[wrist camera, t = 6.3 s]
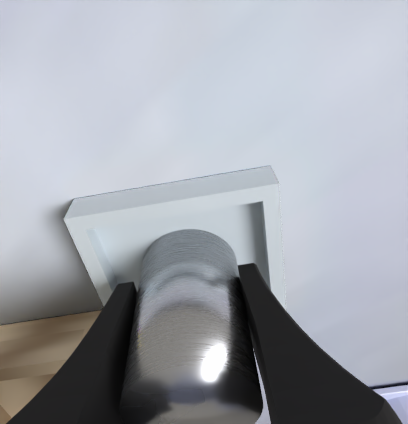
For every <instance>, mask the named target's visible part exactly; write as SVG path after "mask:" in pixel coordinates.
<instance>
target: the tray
mask: <svg viewBox="0 0 408 424" xmlns="http://www.w3.org/2000/svg"><path fill="white" fill-rule="evenodd" d="M64 222H65V224H66V226H67V228H68V230H69V232H70V235H71V237H72V239H73V241H74V243H75V245H76V248H77V250H78V252H79V254H80V256H81V258H82V261H83V263H84V265H85V267H86V269H87V271H88V274H89V276H90V278H91V280H92V282H93V284H94V287H95V289H96V291H97V293H98V295H99V297H100V300H101V302H102V304H103V306H105V304H106V303H107V301H108V299H109V298H110V296H111V294H112V293H113V291H114V289H115V288H116V286H117V285H118V284H120V283H127V282H134V284H135V287H136V290H137V292H138V285H139V279H140V272H141V266H142V260H143V256H144V254H145V252H146V250H147V249H148V247H149V246H150V245H151V244H152V243H153V242H154V241H155V240H157V239H158V238H160V237H161V236H163V235H165V234H167V233H170V232H173V231H177V230H183V229H197V230H203V231H207V232H210V233H213V234H215V235H217V236H219V237H221V238H222V239H224V240H225V241H226V242H227V243H228V244H229V245H230V246H231V248H232V249H233V251H234V253H235V255H236V259H237V264H238V265H243V264H249V263H255V264H256V265H257V267H258V269H259V271H260V273H261V275H262V277H263V279H264V280H265V282H266V284H267V285H268V287H269V288H270V290H271V291H272V293H273V294H274V295H275V297H276V298H277V300H278V301H279V302H280V304H281V305H282V306H283V308H284V309H285V310H286V311H287V309H286V292H285V274H284V257H283V239H282V222H281V204H280V187H279V182H278V180H277V177H276V175H275V173H274V171H273V169H272V167H271V166H266V167H260V168H254V169H248V170H242V171H236V172H230V173H225V174H219V175H213V176H207V177H201V178H195V179H189V180H183V181H177V182H171V183H165V184H159V185H153V186H148V187H142V188H136V189H130V190H124V191H118V192H112V193H106V194H100V195H94V196H88V197H82V198H76V199H74V200H73V202H72V204H71V206H70V207H69V209H68V211H67V213H66V215H65V217H64Z"/></svg>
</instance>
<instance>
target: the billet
mask: <svg viewBox="0 0 408 424" xmlns="http://www.w3.org/2000/svg"><path fill="white" fill-rule="evenodd" d="M262 409H263V399H262V394H261V389H260V383H259V378H258V372H257V367H256V362H255V356H254V351H253V345H252V340H251V335H250V329H249V324H248V318H247V313H246V308H245V304H244V299H243V295H242V289H241V284H240V278H239V271H238V264H237V259H236V255H235V253H234V251H233V249H232V248H231V246H230V245H229V244H228V243H227V242H226V241H225V240H224V239H222V238H221V237H219V236H217V235H215V234H213V233H210V232H207V231H203V230H197V229H183V230H177V231H173V232H170V233H167V234H165V235H163V236H161V237H160V238H158V239H157V240H155V241H154V242H153V243H152V244H151V245H150V246H149V247H148V249H147V250H146V252H145V254H144V256H143V260H142V266H141V272H140V279H139V285H138V292H137V298H136V305H135V311H134V318H133V324H132V330H131V337H130V343H129V350H128V356H127V363H126V369H125V376H124V382H123V389H122V395H121V401H120V416H121V418H122V421H123V422H124V424H254V423H255V422H256V421H257V420H258V419H259V417H260V415H261V413H262Z"/></svg>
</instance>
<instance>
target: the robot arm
mask: <svg viewBox="0 0 408 424" xmlns="http://www.w3.org/2000/svg"><path fill="white" fill-rule="evenodd" d="M238 271H239V278H240V284H241V289H242V295H243V299H244V304H245V308H246V313H247V318H248V324H249V329H250V335H251V340H252V345H253V349H254V352H255V356H256V360H257V363H258V367H259V370H260V374H261V378H262V381H263V385H264V389H265V394H266V399H267V404H268V410H269V415H270V420H271V424H408V385H403V386H396V387H388V388H381V389H373V390H372V389H370V388H369V387H368V386H366V385H365V384H364V383H362V382H361V381H360V380H358V379H357V378H356V377H354V376H353V375H352V374H351V373H349V372H348V371H347V370H345V369H344V368H343V367H342V366H341V365H339V364H338V363H337V362H336V361H335V360H334V359H333V358H331V357H330V356H329V355H328V354H327V353H326V352H324V351H323V350H322V349H321V348H320V347H319V346H318V345H317V344H316V343H315V342H314V341H313V340H312V339H311V338H310V337H309V336H308V335H307V334H306V333H305V332H304V331H303V330H302V329H301V328H300V327H299V325H298V324H297V323H296V322H295V321H294V320H293V319H292V317H291V316H290V315H289V314H288V313H287V311H286V310H285V309H284V308H283V306H282V305H281V304H280V302H279V301H278V300H277V298H276V297H275V295H274V294H273V293H272V291H271V290H270V288H269V287H268V285H267V284H266V282H265V280H264V279H263V277H262V275H261V273H260V271H259V269H258V267H257V265H256V264H255V263H249V264H243V265H238ZM136 298H137V290H136V287H135V284H134V282H127V283H120V284H118V285H117V286H116V288H115V289H114V291H113V293H112V294H111V296H110V298H109V299H108V301H107V303H106V304H105V306H104V307H103V309H102V311H101V312H100V314H99V315H98V317H97V319H96V320H95V322H94V323H93V325H92V326H91V328H90V329H89V331H88V332H87V334H86V335H85V336H84V338H83V339H82V341H81V342H80V343H79V345H78V346H77V348H76V349H75V350H74V352H73V353H72V354H71V356H70V357H69V358H68V359H67V361H66V362H65V363H64V364H63V366H62V367H61V368H60V369H59V370H58V372H57V373H56V374H55V375H54V376H53V377H52V378H51V379H50V381H49V382H48V383H47V384H46V385H45V386H44V387H43V388H42V389H41V390H40V391H39V392H38V393H37V394H36V395H35V396H34V397H33V399H32V400H30V401H29V402H28V403H27V404H26V405H25V406H24V407H23V408H22V409H21V410H20V411H19V412H18V413H17V414H16V415H15V416H14V417H13V418H11V419H10V420H9V421H8V422H7V423H6V424H124V422H123V421H122V418H121V416H120V401H121V395H122V389H123V382H124V376H125V369H126V363H127V356H128V350H129V343H130V337H131V330H132V324H133V318H134V311H135V305H136Z"/></svg>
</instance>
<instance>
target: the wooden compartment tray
mask: <svg viewBox="0 0 408 424" xmlns="http://www.w3.org/2000/svg"><path fill="white" fill-rule="evenodd" d="M101 311H102V310H99V311H93V312H86V313H80V314H73V315H66V316H60V317H53V318H46V319H40V320H33V321H27V322H20V323H13V324H7V325H0V424H6V423H7V422H8V421H9V420H10V419H11V418H13V417H14V416H15V415H16V414H17V413H18V412H19V411H20V410H21V409H22V408H23V407H24V406H25V405H26V404H27V403H28V402H29V401H30V400H32V399H33V397H34V396H35V395H36V394H37V393H38V392H39V391H40V390H41V389H42V388H43V387H44V386H45V385H46V384H47V383H48V382H49V381H50V379H51V378H52V377H53V376H54V375H55V374H56V373H57V372H58V370H59V369H60V368H61V367H62V366H63V364H64V363H65V362H66V361H67V359H68V358H69V357H70V356H71V354H72V353H73V352H74V350H75V349H76V348H77V346H78V345H79V343H80V342H81V341H82V339H83V338H84V336H85V335H86V334H87V332H88V331H89V329H90V328H91V326H92V325H93V323H94V322H95V320H96V319H97V317H98V315H99V314H100V312H101Z"/></svg>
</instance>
